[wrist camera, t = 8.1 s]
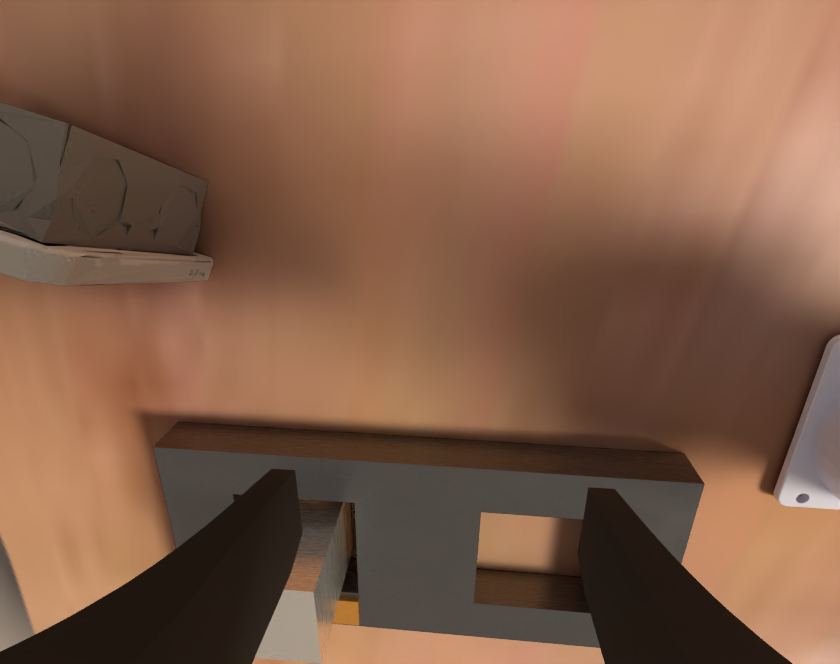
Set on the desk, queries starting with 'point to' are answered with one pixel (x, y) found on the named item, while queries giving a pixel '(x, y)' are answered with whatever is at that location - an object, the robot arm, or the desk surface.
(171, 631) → the robot arm
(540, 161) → the desk surface
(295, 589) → the peg
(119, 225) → the electrical switch
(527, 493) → the grey board with holes
